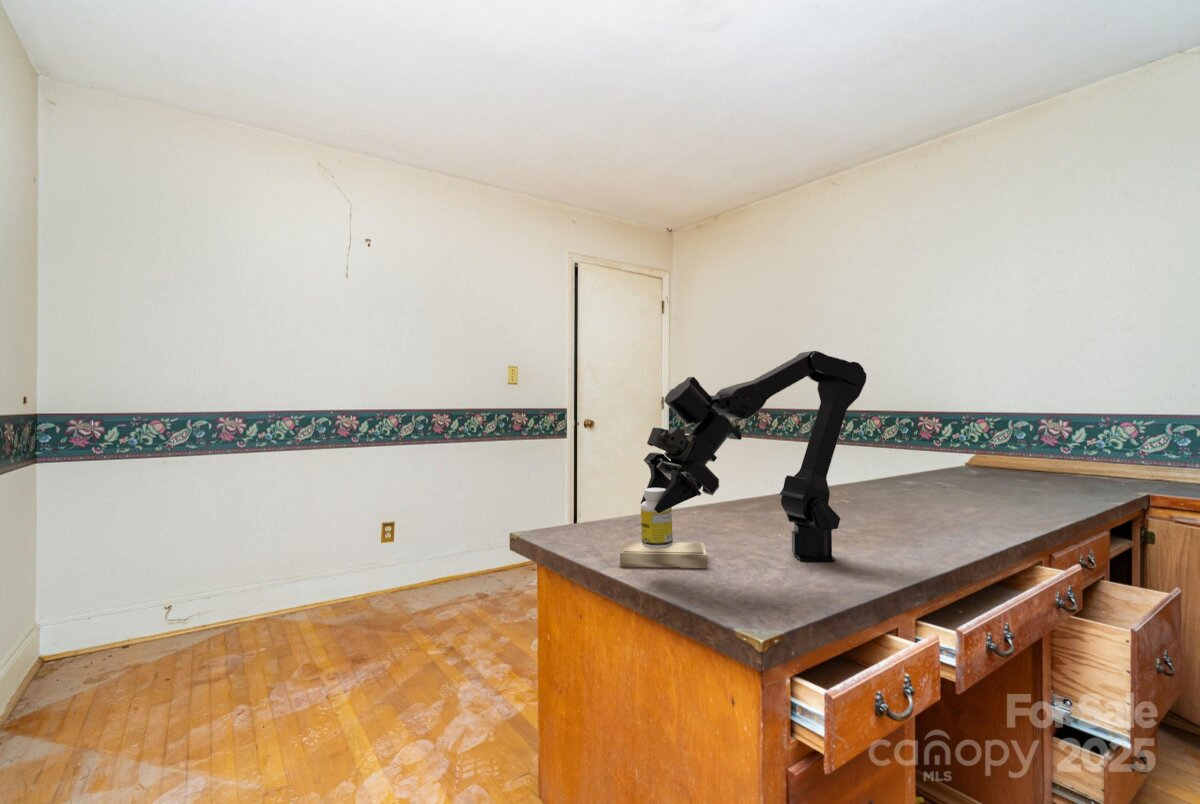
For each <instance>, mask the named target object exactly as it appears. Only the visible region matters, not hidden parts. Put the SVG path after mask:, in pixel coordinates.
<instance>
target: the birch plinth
mask: <svg viewBox="0 0 1200 804" xmlns="http://www.w3.org/2000/svg"><path fill="white" fill-rule="evenodd" d="M619 565H620V567H629V568H630V567H631V568H632V567H634V568H672V567H680V569H681V568H683V569H707V568H708V555H707V551H706V547H705V543H704V542H673V544H672V546H671V547H668V548H664V549H650V548H646V547H644V546H643V545H642V541H623V542H622V545H621V548H620V552H619Z"/></svg>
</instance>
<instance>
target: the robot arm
mask: <svg viewBox="0 0 1200 804" xmlns="http://www.w3.org/2000/svg"><path fill="white" fill-rule="evenodd" d="M805 378H809V379H810V380H812V381H813V382H816V383H817V389H816V390H817V393H818V396H819V397H818V398H819V401H820V404H819V407H818V410H817V414H816V416H815V421H814V424H813V427H812V430H811V434H810V437H809V439H808V443H807V446H806V450H805V452H804V455H803V459H802V463H801V466H800V469H799V470H798V471H797V473H796V474H795V475H786V476H785V478H784V482H783V487H782V488H781V491H780V493H779V496H781V497H780V505H781V506H782V509H783V510H784V513H785V514H786V518H787V521H788V522H789V523H794V525H793V526H794V528H793V529H794V530H791V552H792V553H793V554H794V555H795V557H796V558H798V560H799V561H803V562H805V561H807V562H835V561H836V558H835V557H834V556H833V538H832V537H833V532H832V531H833V530H837V529H839V526H840V521H841V517H840V516H839V515H838V514H837V512H836V511H835V510H833V508H832V507H831V506H830V505H829V502H830V497H831V493H830V487H829V484H828V480H827V478H828V477H827V476H828V474H829V471H830V468H831V467H830V466H831V463H832V460H833V456H834V453H835V450H836V447H837V443H838V439H839V437H840V434H841V430H842V426H843V424H844V423H843V422H844V420H845V416H846V412H847V410H848V409H849V407H851V405H853V404H854V402H855V401H856V400H857V399H859V397H860V396H861V393H862V391H863V389H864V387H865V384H866V382H867V373H866V371H865V368H864V367H863V365H862V364H860V363H859V362H856V361H848V360H846V359H841V358H839V357H836V356H835V357H834V356H830V355H828V354H826V353H823V352H820V351H818V350H812V351H811V350H810V351H804V352H800V353H798V354H797V355H795V356H794V357H793V358H791V359H790V360H789V359H788V361H785V362H783V363H782V364H780V365H778V366H776V367H775V368H773V369H771V370H769V371H767V372H765V373H764V374H761V375H760V376H758V377H756V378H755V379H753V380H750V381H749V380H748V381H745V382H741V383H737V384H733V385H731V386H727V387H723V388H721V389H720V390H718V391H717V392H716V394H714V395H710V394H709V393H708V392H707V391H706V390H705V388H703V386H702V385H701V384H700V382H699V380H698V379H696V377H694V376H688V377H686V379H685V380H684V381H682V382H680V383H679V384H677V385H676V386H675V387H674V388H671V389H670V390H669V392H667V394H666V396H665V397H664V403H665V404H666V405H667V406H668V407H669V408H670V409H671V411H672V412H674V413H675V414H676V416H678V417H679V418H680V419H681V420H682V422H683V423H684V424H686V425H690V424H692V425H695V426H694V427H693V429H692V430H691V431H690V432H689V434H686V431H685V430H684V429H682V428H680V427H675V426H673V427H672V428H671V429H670V430H669V429H665V428H662V427H652V429H651V431H650V433H649V434H650V435H649V436H648V437H649V438H648V439H647V441H646V444H647V445H648V446H650V447H653V446H654V447H656V448H657V449H660V450H661V451H664V453H660V452H648V454H647V455H646V457H644V459H643V462H644V463H645V464H646V465H647V466H648V468H649V471H650V472H649V473H650V479H649V482H648V484H647V486H646V489H648V488H664V489H666V490H665V492H664V493H663V495H662V496H661V498H660V499H659V501H658V503H657V504H656V506H655V508H654V510H655V511H656V512H657V513H661V512H663V511H665V510H667V509H669V508H671V507H672V508H673V507H675V506H677V505H679V504H681V503H684V502H685V501H688V500H690V499H693V498H695V497H699V496H702V493H704V494H705V495H710V496H714V494H715V493H716V492H717V491H718V489H719V488H720V479H719V478H718V477H717V475H716V474H715V473H714V472H713V471H712V470H711V469H710V468H709V467H707V464H708V463H709V462H713V463H714V462H715V461H716V460H717V459H718V457H717V455H715V454H716V453H717V451H718V450H719V449H720V448H721V447H722V445H723V444H724V443H725V442H726V440H727V439H729V440H738V441H740V440H742V439H743V438H742V432H741V425H740V424H733V422H732V421H731V420H729V419H741V420H742V419H744V420H745V419H749V418H751V417H752V416H754V415H755V414H756V413H757V412H758V411H760V410H761V409H762V408H763V407H764V405H765V404H766V403H767V400H769V399H770V398H771V397H773V396H775V395H776V394H778V393H779V392H781V391H783V390H785V389H787V388H789V387H791V386H793V385H794V384H795V383H798V382H799V381H801V380H803V379H805ZM701 489H702V490H701ZM700 490H701V491H700ZM644 501H646V499H645V496H644V495H643V496H642V498H641V501H640V505H641V504H642V503H643V502H644Z"/></svg>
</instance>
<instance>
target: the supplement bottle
mask: <svg viewBox="0 0 1200 804" xmlns="http://www.w3.org/2000/svg"><path fill="white" fill-rule="evenodd" d="M665 490H666V489H664V488H648V489H647V488H645V489H644V492H643V496H645V499H646V501H644V502H643V503H642V504H641V503H640V518H641V519H640V521H641V522H640V523H641V524H640V525H641V542H642V545H643V546H644V547H646V548H650V549H664V548H668V547H671V546H672V544H673V543H674V541H673V540H674V539H673V537H674V536H673V507H671V508H669V509H667V510H665V511H663V512H661V513H657V512H656V511H655V510H654V508H655V506H656V504H657V503H658V501H659V499H660V498H661V496H662V495H663V493H664V492H665Z"/></svg>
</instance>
